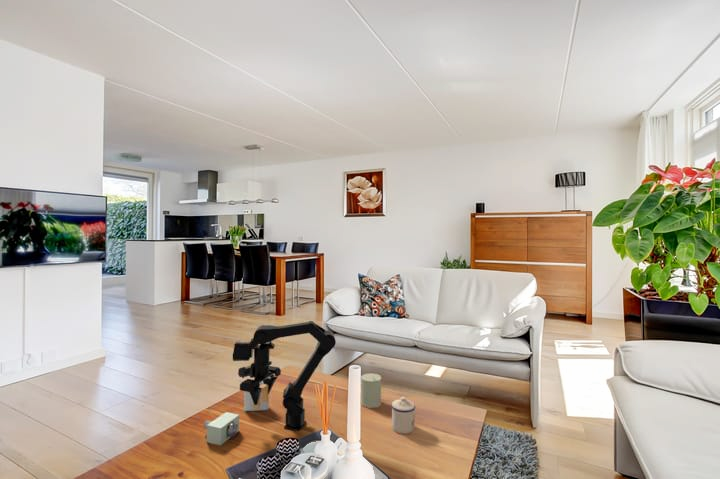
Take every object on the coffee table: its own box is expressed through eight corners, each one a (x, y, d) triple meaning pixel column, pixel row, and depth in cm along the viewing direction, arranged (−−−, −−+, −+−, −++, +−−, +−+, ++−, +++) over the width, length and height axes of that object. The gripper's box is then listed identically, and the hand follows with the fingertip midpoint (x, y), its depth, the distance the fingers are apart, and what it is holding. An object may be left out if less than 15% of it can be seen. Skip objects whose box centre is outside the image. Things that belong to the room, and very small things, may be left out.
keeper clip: (268, 401, 135) (268, 384, 136) (258, 408, 129) (258, 391, 129) (263, 400, 136) (263, 383, 136) (253, 407, 130) (253, 390, 130)
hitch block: (239, 430, 131) (239, 414, 131) (220, 445, 121) (220, 428, 121) (226, 427, 133) (226, 412, 133) (206, 442, 123) (206, 425, 123)
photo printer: (269, 406, 150) (270, 377, 150) (268, 410, 146) (268, 381, 146) (245, 407, 149) (245, 378, 149) (243, 412, 145) (243, 382, 145)
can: (367, 410, 148) (367, 381, 148) (356, 401, 156) (357, 374, 156) (385, 405, 152) (385, 377, 153) (374, 396, 160) (374, 370, 161)
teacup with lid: (418, 433, 130) (418, 402, 130) (394, 435, 129) (394, 403, 129) (408, 417, 142) (409, 388, 142) (387, 418, 141) (387, 390, 141)
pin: (237, 433, 127) (237, 421, 128) (229, 439, 123) (229, 427, 123) (210, 427, 132) (210, 415, 132) (201, 433, 127) (201, 421, 127)
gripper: (258, 350, 144) (257, 387, 144) (227, 365, 127) (226, 408, 127) (281, 353, 141) (281, 392, 141) (253, 369, 123) (252, 413, 123)
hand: (260, 400), depth 133 cm, fingers closed on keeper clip, 6 cm apart
